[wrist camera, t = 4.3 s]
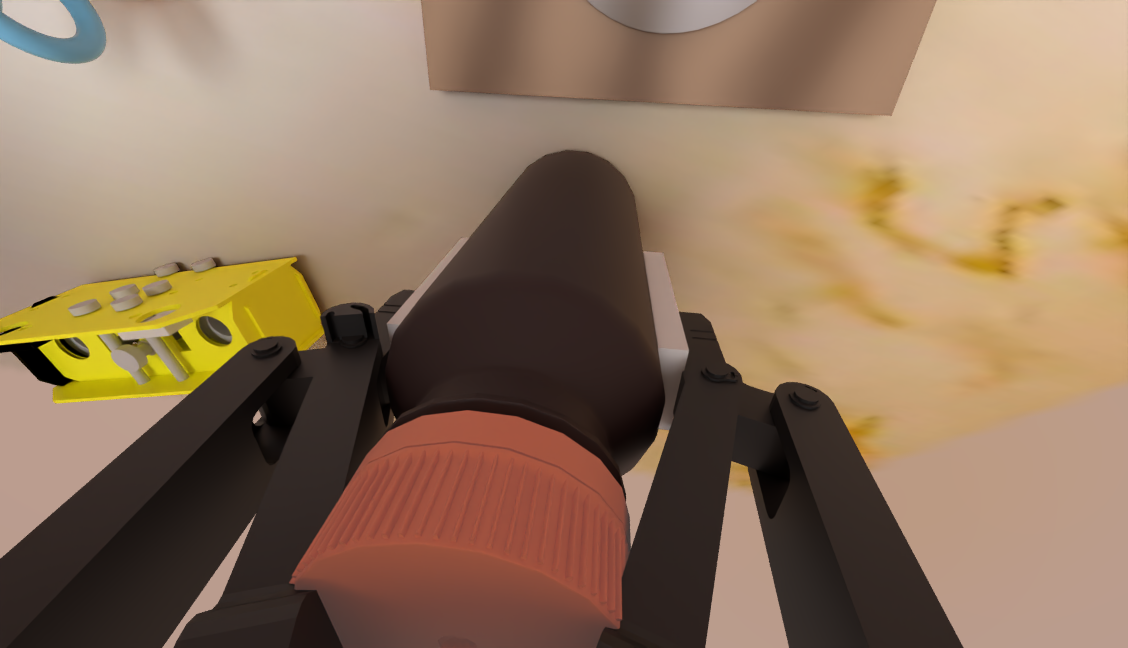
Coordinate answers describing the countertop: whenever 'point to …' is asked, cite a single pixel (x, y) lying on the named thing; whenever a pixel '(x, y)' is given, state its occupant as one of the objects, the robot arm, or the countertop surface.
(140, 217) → the countertop surface
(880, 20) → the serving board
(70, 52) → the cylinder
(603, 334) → the vinegar
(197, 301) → the yellow toy chassis
